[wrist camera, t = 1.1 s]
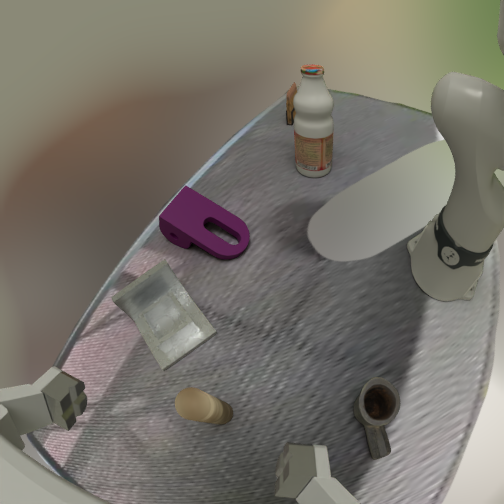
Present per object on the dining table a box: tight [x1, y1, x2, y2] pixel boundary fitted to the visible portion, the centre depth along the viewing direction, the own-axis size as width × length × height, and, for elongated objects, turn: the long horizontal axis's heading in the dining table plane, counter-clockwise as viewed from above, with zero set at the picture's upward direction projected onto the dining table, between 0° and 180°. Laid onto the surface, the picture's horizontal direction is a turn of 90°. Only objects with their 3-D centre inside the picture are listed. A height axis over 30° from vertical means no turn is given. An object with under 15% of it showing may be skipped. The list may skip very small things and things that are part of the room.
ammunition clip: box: [286, 83, 297, 125], centre depth 85 cm, size 11×2×12 cm, turn 160°
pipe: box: [354, 377, 400, 460], centre depth 34 cm, size 6×13×8 cm, turn 10°
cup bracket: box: [111, 259, 217, 371], centre depth 48 cm, size 12×13×9 cm
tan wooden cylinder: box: [175, 387, 233, 424], centre depth 35 cm, size 4×4×15 cm
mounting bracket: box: [159, 186, 250, 259], centre depth 61 cm, size 10×8×18 cm
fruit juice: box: [293, 65, 334, 178], centre depth 61 cm, size 9×9×28 cm
